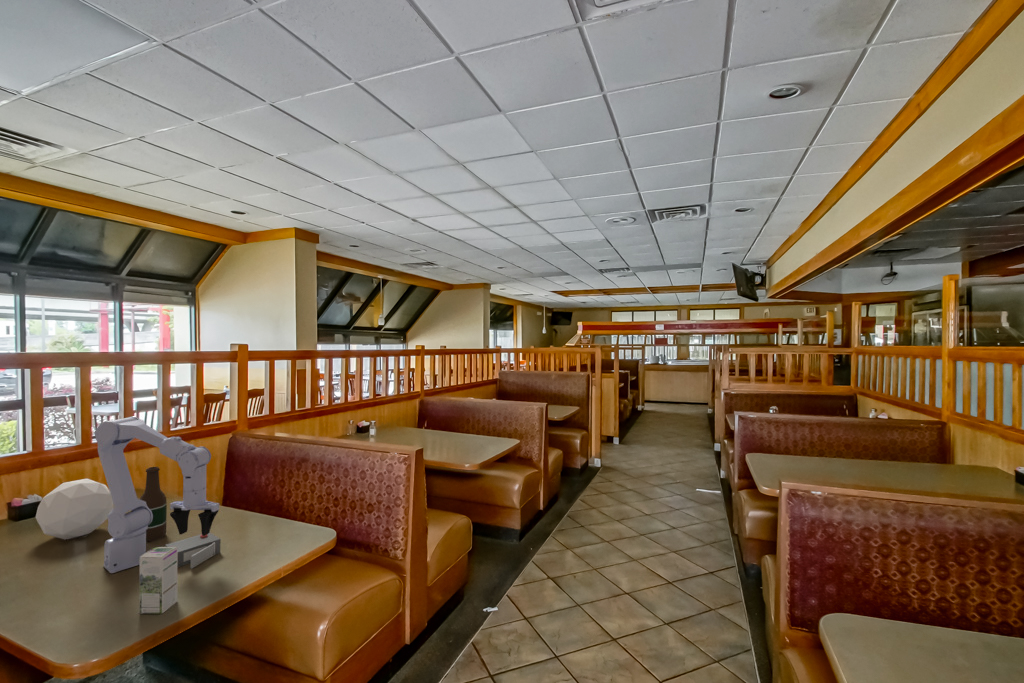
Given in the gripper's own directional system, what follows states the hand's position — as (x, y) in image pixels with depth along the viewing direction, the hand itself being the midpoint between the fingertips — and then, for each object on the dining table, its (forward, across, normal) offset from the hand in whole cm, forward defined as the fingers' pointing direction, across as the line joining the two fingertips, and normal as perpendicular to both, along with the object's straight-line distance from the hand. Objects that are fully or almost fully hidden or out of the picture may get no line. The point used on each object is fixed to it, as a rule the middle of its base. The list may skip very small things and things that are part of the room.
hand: (194, 533), depth 136 cm
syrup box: (+10, +9, -21) cm, 25 cm away
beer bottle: (+10, -30, +16) cm, 35 cm away
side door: (+9, +2, +2) cm, 9 cm away
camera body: (+9, -5, +5) cm, 12 cm away
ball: (+10, -57, +14) cm, 60 cm away
